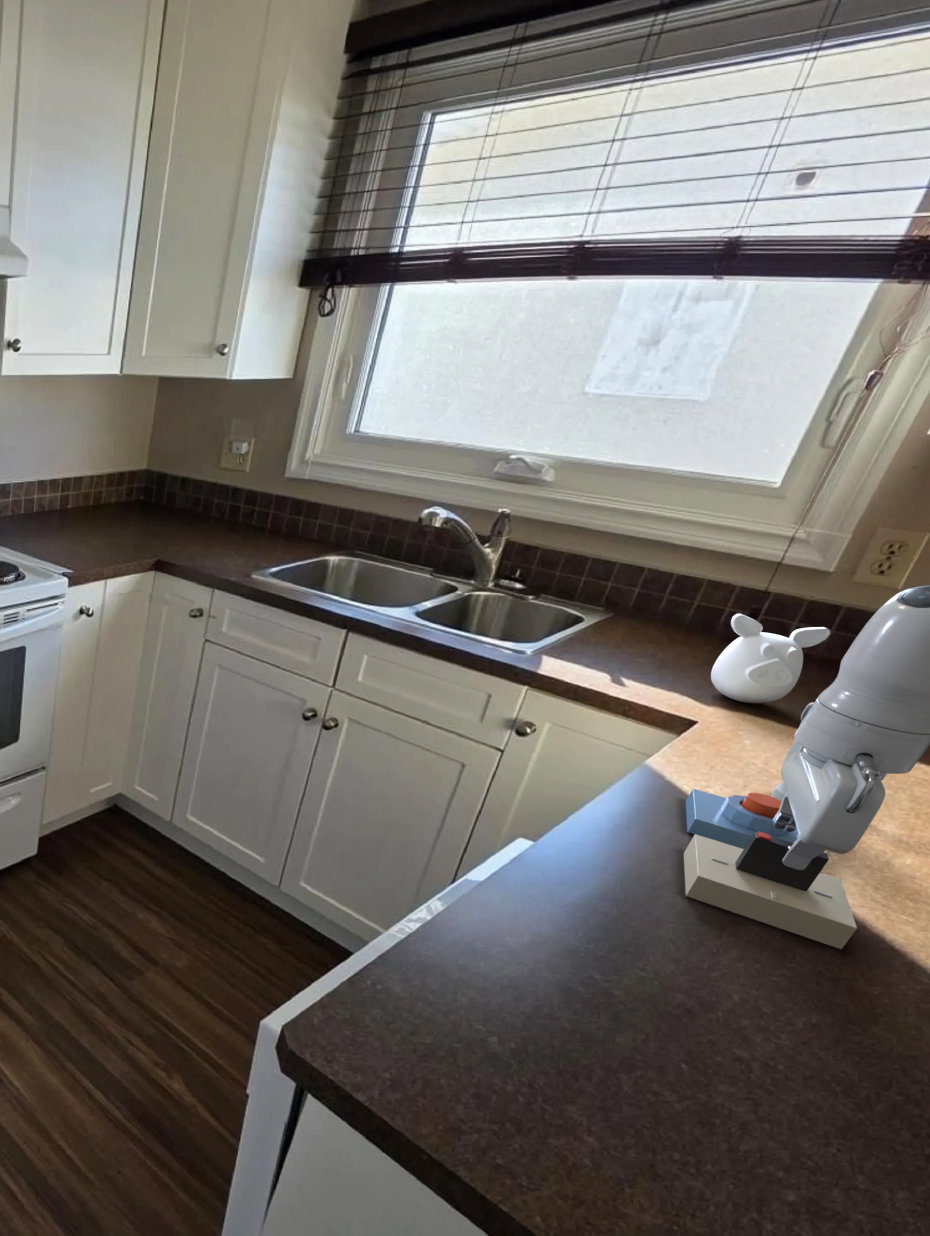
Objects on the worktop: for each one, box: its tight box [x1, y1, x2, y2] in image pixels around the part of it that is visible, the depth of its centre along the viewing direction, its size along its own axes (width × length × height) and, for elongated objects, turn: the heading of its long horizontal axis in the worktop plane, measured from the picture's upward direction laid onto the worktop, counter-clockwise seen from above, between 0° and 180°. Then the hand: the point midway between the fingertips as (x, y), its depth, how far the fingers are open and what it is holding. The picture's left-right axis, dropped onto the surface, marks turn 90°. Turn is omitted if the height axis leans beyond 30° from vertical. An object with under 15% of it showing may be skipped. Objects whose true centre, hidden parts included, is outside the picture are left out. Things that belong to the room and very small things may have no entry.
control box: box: [683, 834, 858, 950], centre depth 92 cm, size 13×11×3 cm
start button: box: [741, 792, 781, 818], centre depth 103 cm, size 4×4×2 cm
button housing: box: [685, 788, 798, 849], centre depth 104 cm, size 12×10×4 cm
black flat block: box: [735, 831, 830, 891], centre depth 90 cm, size 6×2×5 cm, turn 51°
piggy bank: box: [710, 613, 831, 704], centre depth 140 cm, size 12×12×15 cm
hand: (786, 845), depth 90 cm, fingers open, 8 cm apart
